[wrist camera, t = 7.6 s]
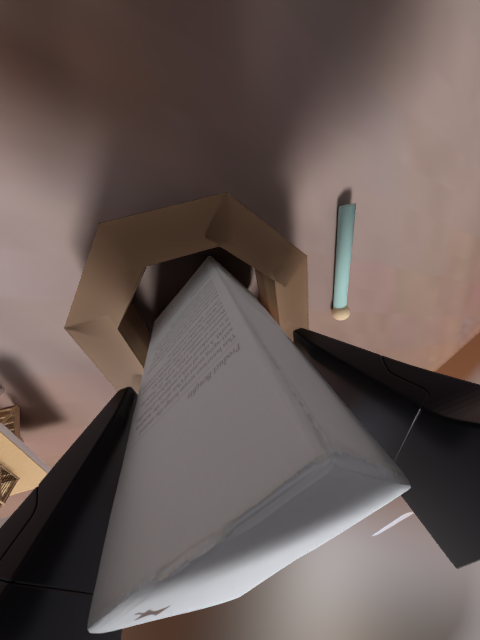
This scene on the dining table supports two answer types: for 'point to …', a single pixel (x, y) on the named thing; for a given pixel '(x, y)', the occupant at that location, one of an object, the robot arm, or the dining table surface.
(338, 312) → the teal thin rod
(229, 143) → the dining table surface
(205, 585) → the skincare box
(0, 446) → the architectural model
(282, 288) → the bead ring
